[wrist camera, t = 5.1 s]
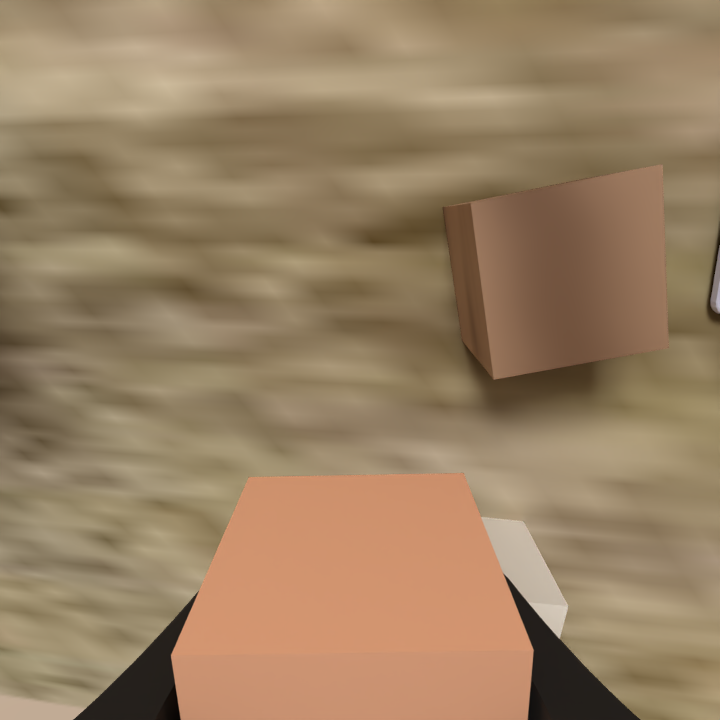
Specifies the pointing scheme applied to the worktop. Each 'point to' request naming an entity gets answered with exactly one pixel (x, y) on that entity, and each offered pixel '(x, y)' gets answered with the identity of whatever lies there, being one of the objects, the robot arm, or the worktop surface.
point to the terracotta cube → (354, 607)
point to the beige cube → (527, 570)
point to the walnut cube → (562, 272)
